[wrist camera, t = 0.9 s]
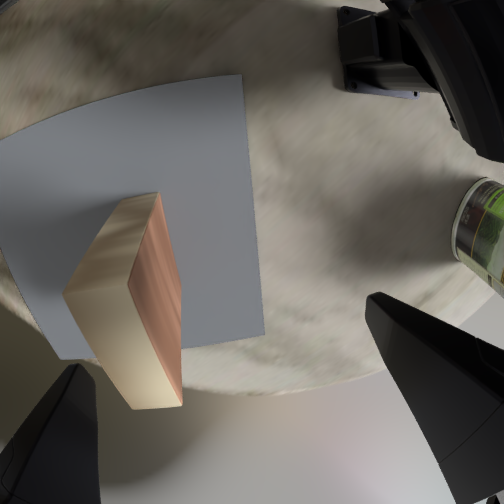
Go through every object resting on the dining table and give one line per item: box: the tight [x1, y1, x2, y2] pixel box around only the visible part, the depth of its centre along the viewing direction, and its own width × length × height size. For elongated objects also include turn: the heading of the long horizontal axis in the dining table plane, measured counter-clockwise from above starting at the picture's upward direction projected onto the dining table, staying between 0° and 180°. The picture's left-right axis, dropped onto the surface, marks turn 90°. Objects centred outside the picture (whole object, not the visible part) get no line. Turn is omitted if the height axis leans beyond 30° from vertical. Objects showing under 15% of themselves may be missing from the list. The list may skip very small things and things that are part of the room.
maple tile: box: [62, 192, 183, 409], centre depth 14 cm, size 2×7×10 cm, turn 5°
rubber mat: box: [0, 74, 265, 360], centre depth 18 cm, size 20×20×1 cm
